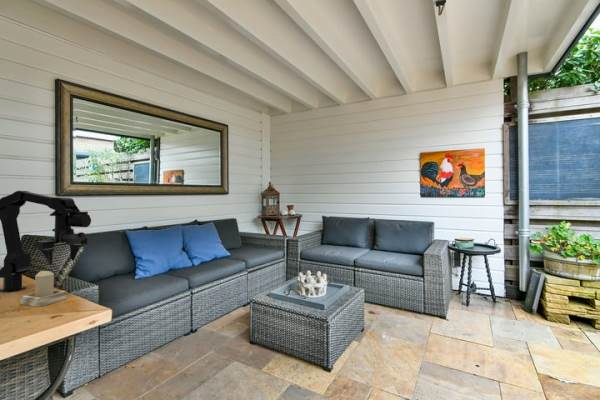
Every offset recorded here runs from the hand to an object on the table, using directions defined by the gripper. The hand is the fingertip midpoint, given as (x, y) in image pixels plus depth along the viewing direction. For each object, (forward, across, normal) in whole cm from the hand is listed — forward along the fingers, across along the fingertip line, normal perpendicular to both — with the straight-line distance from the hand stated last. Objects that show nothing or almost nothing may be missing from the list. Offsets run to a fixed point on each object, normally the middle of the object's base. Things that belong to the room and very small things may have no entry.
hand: (62, 262), depth 131 cm
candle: (+11, -12, -8) cm, 17 cm away
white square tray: (+12, -11, -8) cm, 18 cm away
